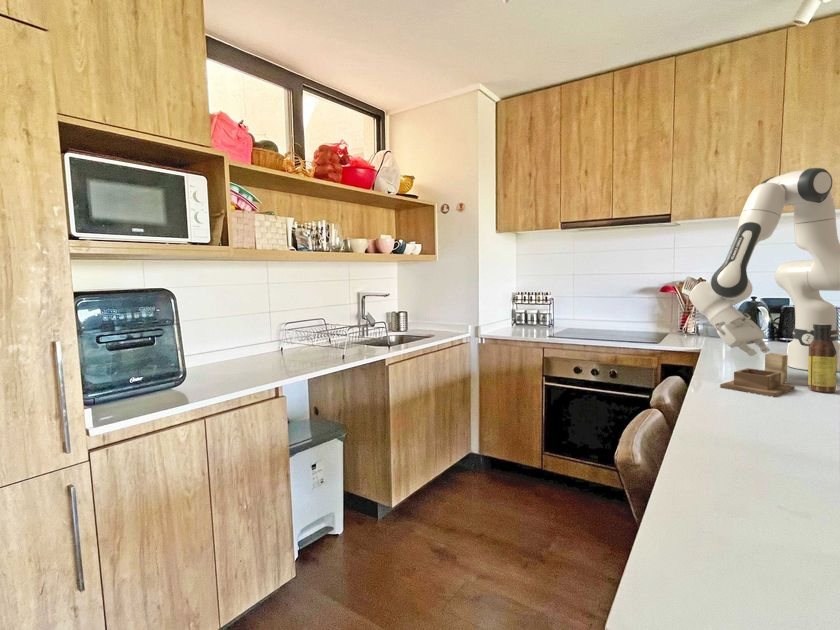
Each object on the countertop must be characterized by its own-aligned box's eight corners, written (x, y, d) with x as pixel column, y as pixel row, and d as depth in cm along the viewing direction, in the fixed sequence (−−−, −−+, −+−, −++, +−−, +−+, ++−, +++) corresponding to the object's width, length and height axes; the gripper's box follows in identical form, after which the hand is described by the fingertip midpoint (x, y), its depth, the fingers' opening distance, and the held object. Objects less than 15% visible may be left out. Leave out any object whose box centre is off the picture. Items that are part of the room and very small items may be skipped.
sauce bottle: (842, 393, 129) (845, 324, 127) (819, 393, 129) (823, 325, 127) (822, 387, 135) (825, 322, 134) (801, 388, 135) (803, 323, 134)
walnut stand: (741, 380, 146) (742, 365, 146) (794, 389, 134) (795, 373, 134) (720, 387, 139) (720, 371, 138) (774, 397, 127) (774, 379, 126)
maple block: (770, 380, 146) (771, 352, 145) (786, 382, 142) (787, 354, 142) (764, 382, 144) (765, 354, 143) (780, 384, 140) (781, 356, 139)
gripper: (720, 317, 146) (754, 350, 139) (749, 313, 157) (782, 344, 149) (705, 329, 150) (737, 362, 143) (735, 325, 161) (766, 355, 153)
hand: (760, 353), depth 146 cm, fingers open, 8 cm apart
